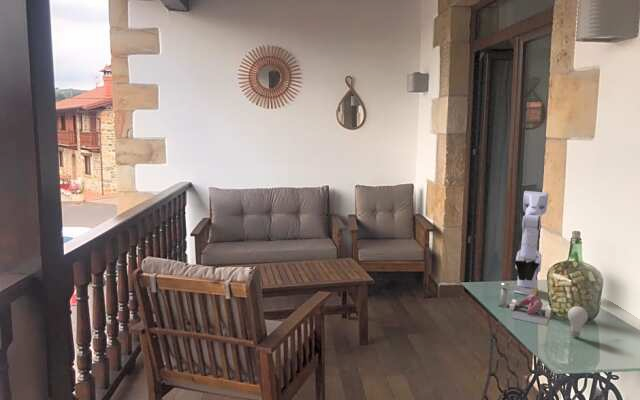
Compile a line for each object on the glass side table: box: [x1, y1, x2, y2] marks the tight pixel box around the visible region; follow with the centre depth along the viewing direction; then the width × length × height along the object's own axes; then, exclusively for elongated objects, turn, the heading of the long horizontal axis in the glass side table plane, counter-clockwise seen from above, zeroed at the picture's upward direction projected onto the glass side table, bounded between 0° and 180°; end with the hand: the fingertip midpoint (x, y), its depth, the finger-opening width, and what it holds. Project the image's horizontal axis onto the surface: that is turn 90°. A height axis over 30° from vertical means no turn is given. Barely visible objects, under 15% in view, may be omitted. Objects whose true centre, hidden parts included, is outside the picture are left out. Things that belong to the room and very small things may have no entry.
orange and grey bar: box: [500, 281, 538, 296], centre depth 201 cm, size 13×3×2 cm, turn 61°
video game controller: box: [518, 294, 544, 314], centre depth 200 cm, size 10×5×7 cm, turn 179°
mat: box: [511, 310, 550, 326], centre depth 193 cm, size 8×12×1 cm, turn 61°
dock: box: [498, 288, 552, 318], centre depth 201 cm, size 7×19×7 cm, turn 61°
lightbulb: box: [567, 306, 589, 339], centre depth 177 cm, size 6×6×11 cm
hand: (525, 280), depth 203 cm, fingers open, 7 cm apart
